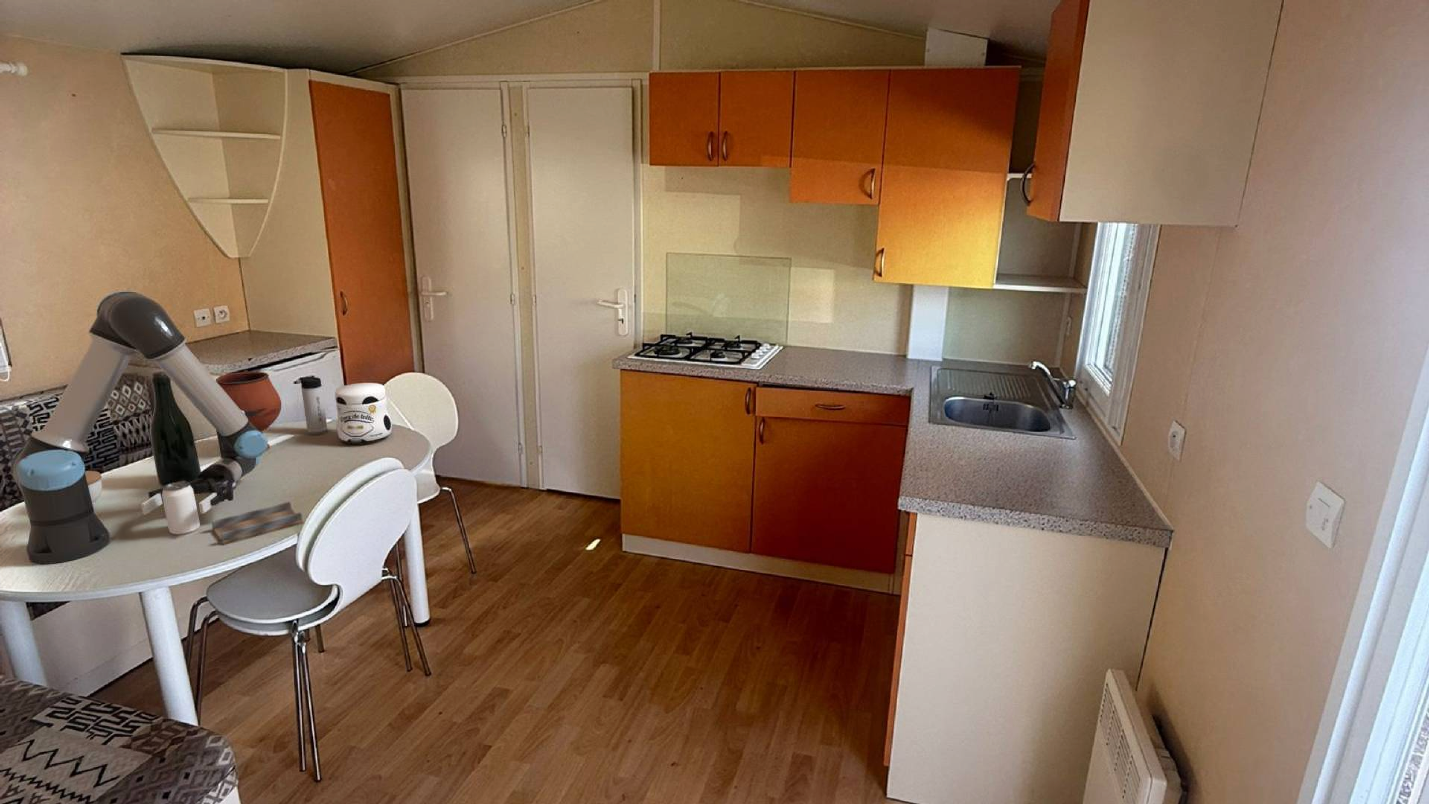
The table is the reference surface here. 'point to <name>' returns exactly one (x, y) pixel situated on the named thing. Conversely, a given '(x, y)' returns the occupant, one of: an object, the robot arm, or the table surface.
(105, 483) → the table surface
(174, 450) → the dark green bottle
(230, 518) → the track
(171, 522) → the can
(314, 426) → the travel mug
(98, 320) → the robot arm
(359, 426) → the milk container
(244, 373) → the goblet
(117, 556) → the table surface
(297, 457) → the table surface
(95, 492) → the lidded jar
